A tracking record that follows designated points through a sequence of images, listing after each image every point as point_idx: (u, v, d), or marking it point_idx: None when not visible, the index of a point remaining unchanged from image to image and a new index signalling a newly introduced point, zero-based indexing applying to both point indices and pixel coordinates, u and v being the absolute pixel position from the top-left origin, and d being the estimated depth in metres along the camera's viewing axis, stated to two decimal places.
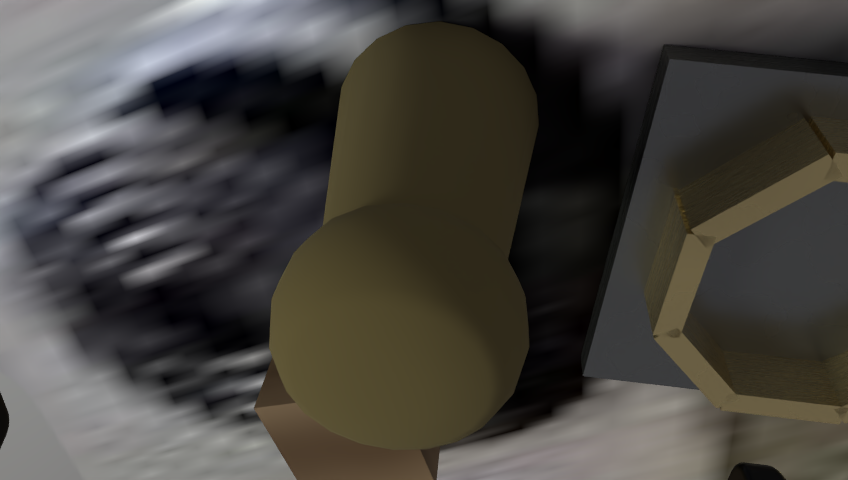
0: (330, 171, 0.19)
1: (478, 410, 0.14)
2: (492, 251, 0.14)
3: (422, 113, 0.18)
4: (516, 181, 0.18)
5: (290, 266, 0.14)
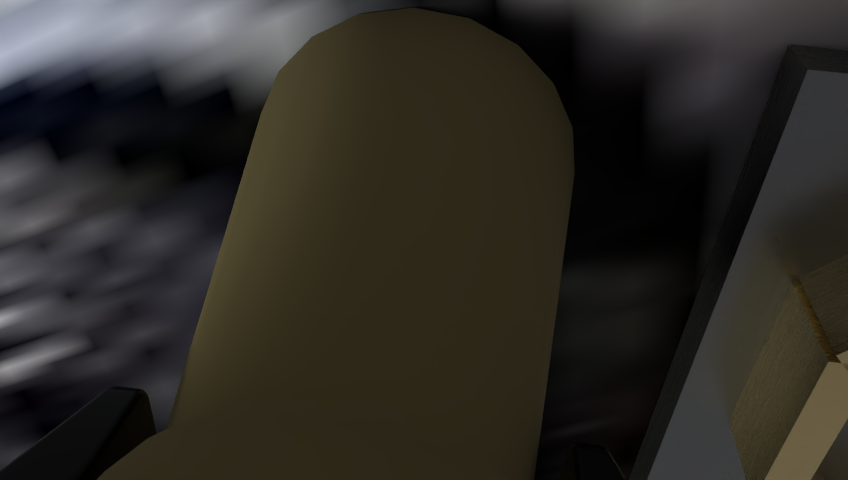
0: (213, 273, 0.10)
1: None
2: None
3: (373, 175, 0.09)
4: (548, 295, 0.10)
5: None
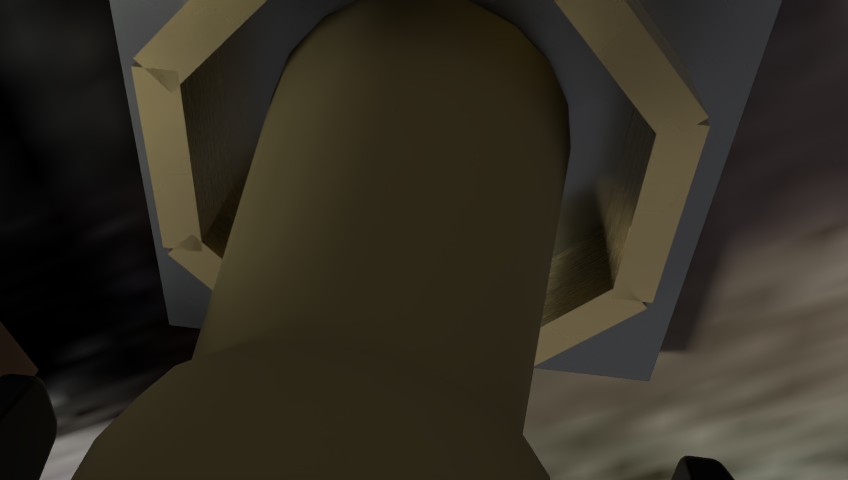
0: (229, 236, 0.11)
1: None
2: (498, 451, 0.07)
3: (376, 141, 0.10)
4: (541, 255, 0.11)
5: None
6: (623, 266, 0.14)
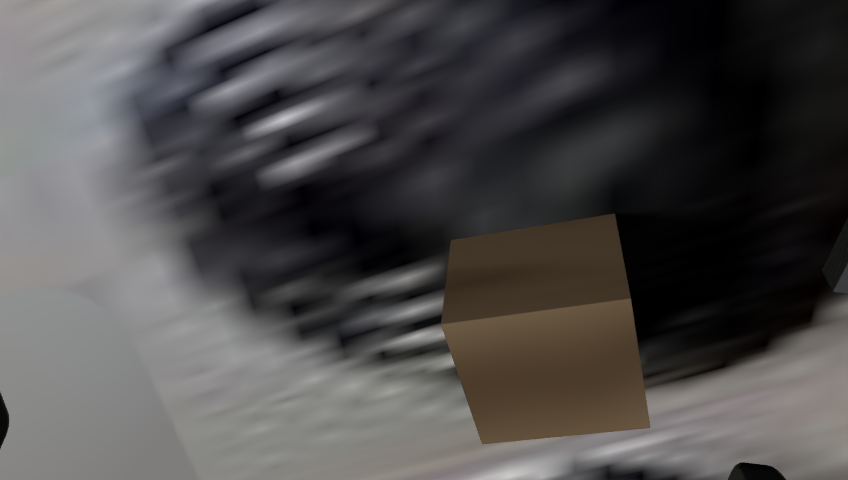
0: None
1: None
2: None
3: None
4: None
5: None
6: None
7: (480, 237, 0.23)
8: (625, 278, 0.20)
